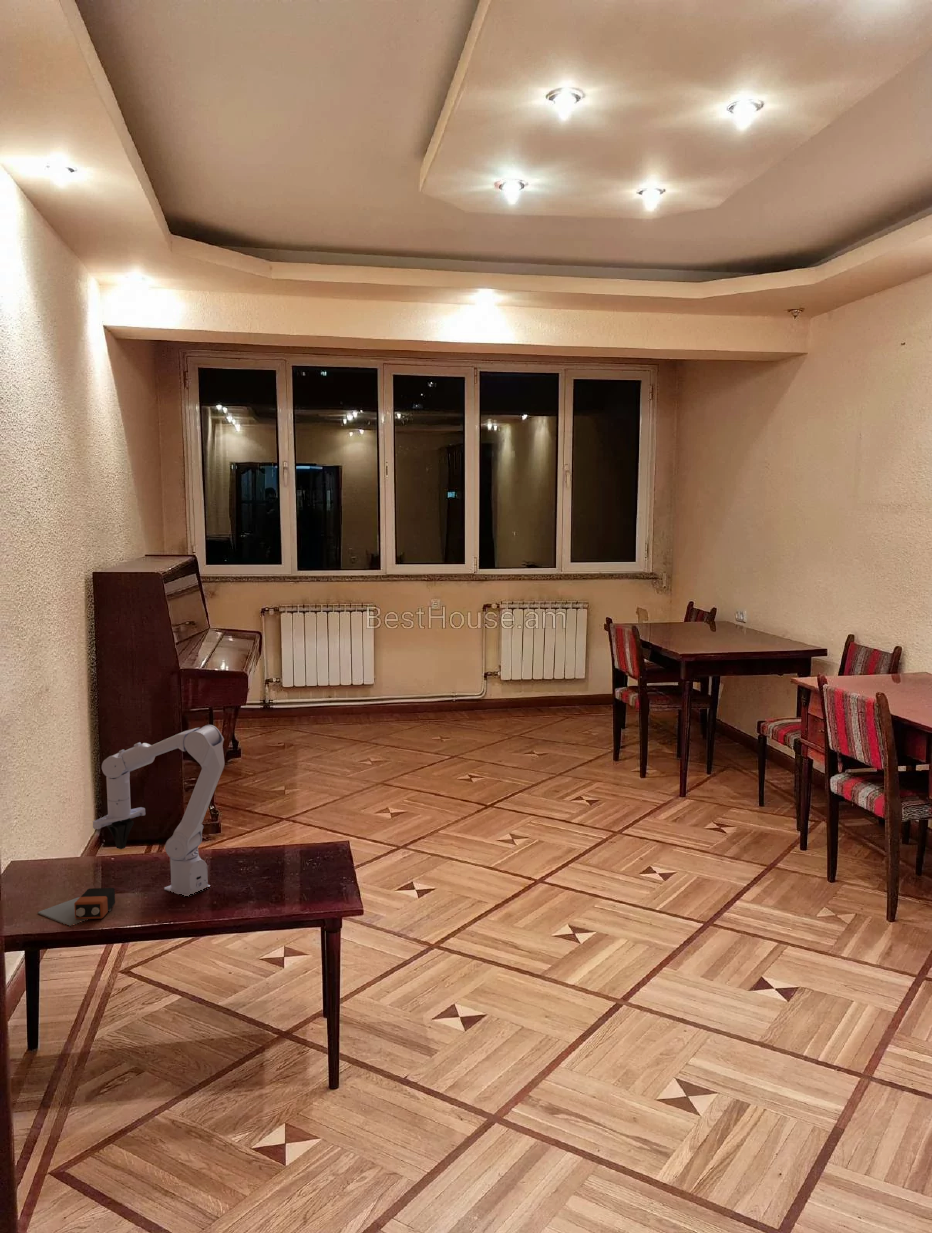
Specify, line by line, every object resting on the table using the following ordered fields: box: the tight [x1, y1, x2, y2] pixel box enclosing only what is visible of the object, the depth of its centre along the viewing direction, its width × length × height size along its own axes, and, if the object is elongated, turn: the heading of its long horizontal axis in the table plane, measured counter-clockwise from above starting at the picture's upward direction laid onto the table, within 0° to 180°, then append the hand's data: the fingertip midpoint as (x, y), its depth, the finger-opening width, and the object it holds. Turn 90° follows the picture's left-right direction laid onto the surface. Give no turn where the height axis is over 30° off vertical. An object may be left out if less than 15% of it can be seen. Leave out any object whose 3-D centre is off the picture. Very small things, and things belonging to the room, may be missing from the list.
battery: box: [74, 887, 116, 920], centre depth 214 cm, size 4×7×10 cm
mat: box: [37, 896, 112, 927], centre depth 216 cm, size 14×11×1 cm
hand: (120, 847), depth 232 cm, fingers closed
